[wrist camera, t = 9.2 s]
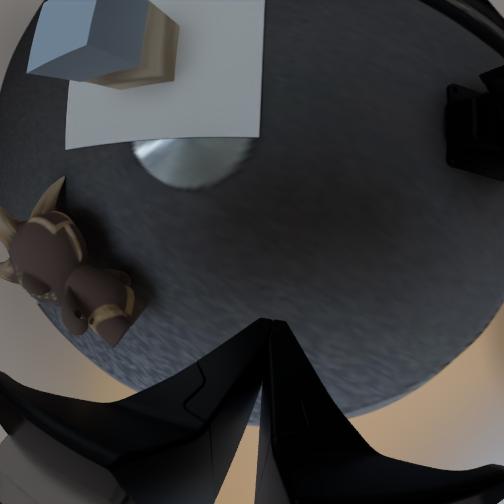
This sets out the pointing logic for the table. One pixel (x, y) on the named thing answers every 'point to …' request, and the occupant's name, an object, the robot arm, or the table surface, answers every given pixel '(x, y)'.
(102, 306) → the toy
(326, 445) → the robot arm
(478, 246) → the table surface
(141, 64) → the maple block
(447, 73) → the table surface
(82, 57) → the blue block
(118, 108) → the board
